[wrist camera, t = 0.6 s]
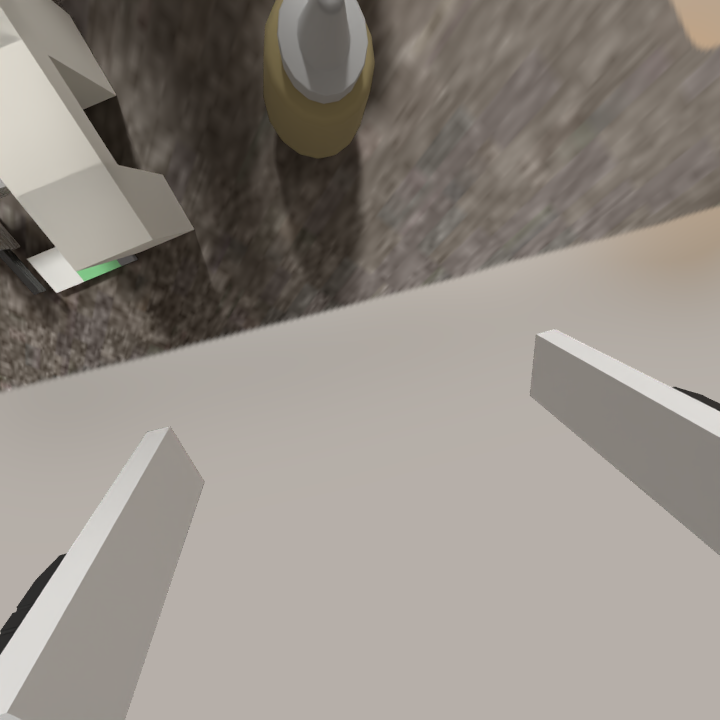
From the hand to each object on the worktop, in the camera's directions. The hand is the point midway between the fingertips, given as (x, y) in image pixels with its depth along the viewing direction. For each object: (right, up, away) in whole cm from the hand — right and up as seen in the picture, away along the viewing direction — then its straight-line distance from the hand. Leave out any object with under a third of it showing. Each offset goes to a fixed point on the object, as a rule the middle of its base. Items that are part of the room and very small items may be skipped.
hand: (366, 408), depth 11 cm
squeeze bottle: (-5, +25, +17) cm, 30 cm away
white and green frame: (-26, +18, +16) cm, 36 cm away
